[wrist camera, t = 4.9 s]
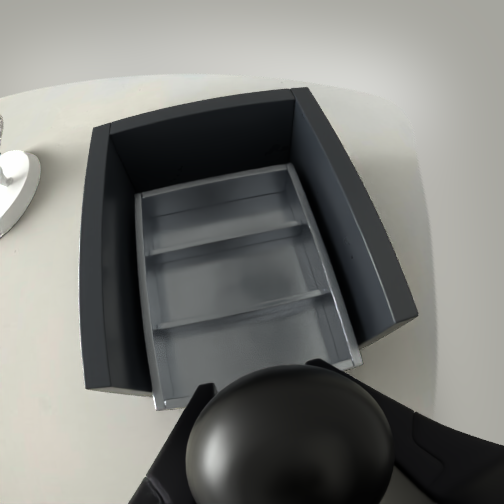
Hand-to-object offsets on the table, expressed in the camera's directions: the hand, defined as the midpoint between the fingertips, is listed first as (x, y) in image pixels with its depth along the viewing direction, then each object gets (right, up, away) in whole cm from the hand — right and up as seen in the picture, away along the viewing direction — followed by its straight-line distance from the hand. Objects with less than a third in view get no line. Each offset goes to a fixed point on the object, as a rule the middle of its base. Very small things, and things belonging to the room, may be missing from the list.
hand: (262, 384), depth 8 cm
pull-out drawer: (-1, +1, +6) cm, 6 cm away
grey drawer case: (-1, +3, +9) cm, 9 cm away
